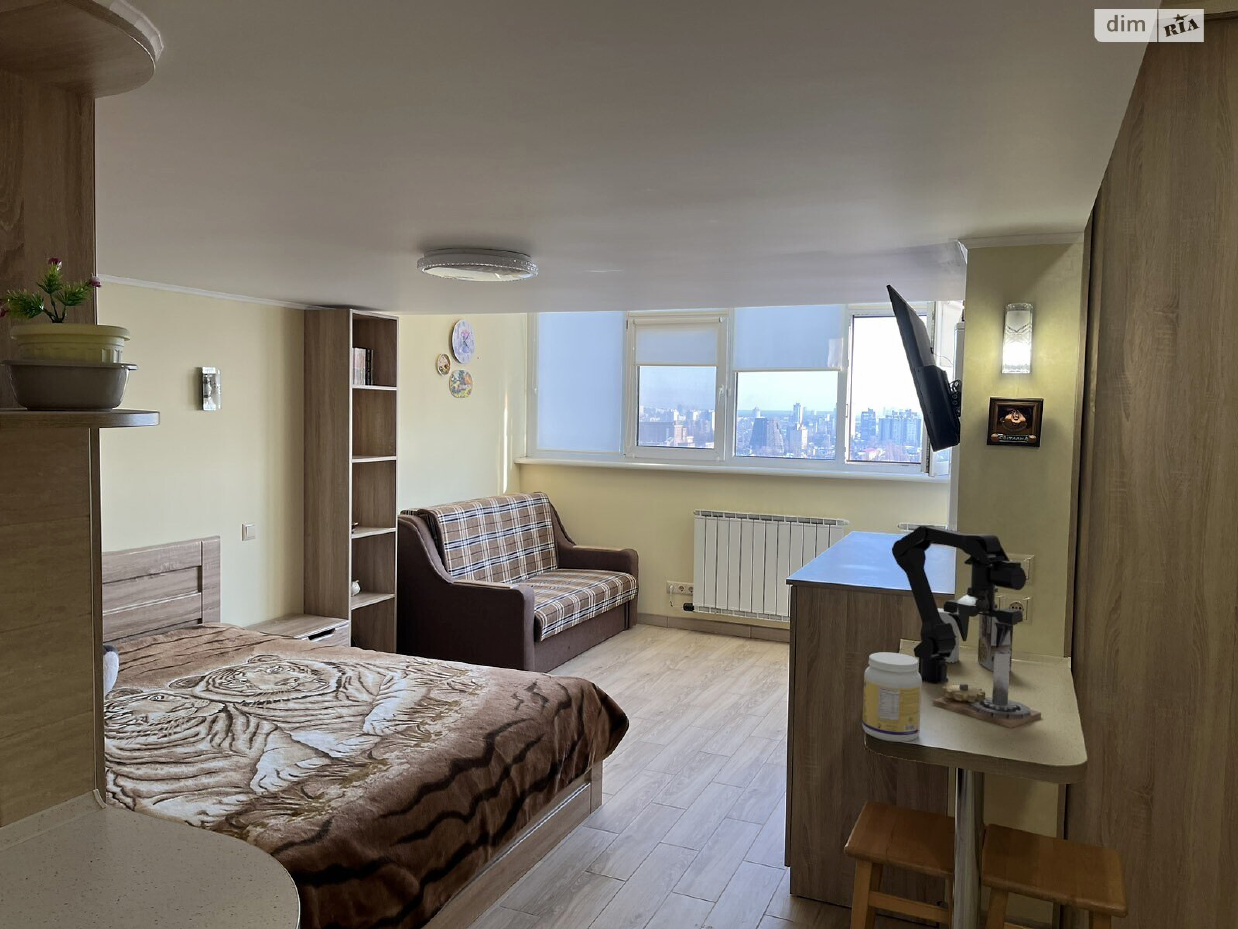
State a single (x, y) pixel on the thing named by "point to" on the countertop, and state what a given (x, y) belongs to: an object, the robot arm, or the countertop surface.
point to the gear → (1000, 685)
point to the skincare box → (949, 619)
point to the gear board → (972, 704)
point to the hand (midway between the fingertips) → (981, 644)
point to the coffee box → (991, 641)
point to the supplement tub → (892, 697)
